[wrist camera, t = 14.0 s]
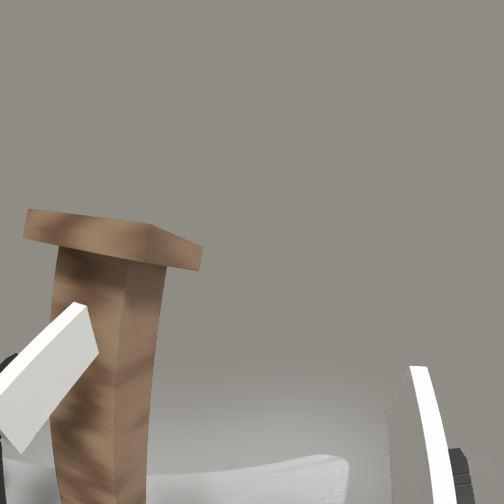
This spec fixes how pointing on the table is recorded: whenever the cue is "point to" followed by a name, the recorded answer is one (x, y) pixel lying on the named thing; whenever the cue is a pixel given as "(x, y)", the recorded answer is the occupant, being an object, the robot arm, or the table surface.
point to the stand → (108, 347)
